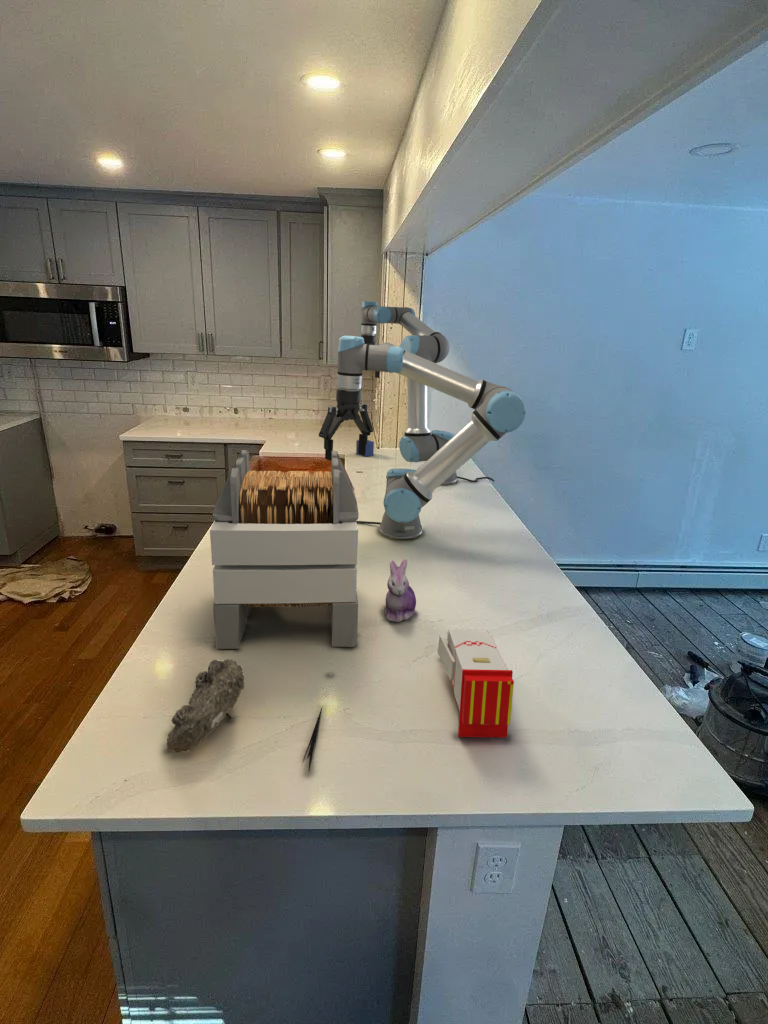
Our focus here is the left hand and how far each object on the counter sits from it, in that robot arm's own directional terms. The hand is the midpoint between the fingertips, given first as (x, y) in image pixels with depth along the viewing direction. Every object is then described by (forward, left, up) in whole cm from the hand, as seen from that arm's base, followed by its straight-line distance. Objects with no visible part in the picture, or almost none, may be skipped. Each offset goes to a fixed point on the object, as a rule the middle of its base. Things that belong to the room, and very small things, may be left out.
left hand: (345, 457), depth 179 cm
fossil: (+53, -71, -30) cm, 93 cm away
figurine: (+45, -16, -30) cm, 57 cm away
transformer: (+28, -38, -30) cm, 56 cm away
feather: (+66, -55, -30) cm, 91 cm away
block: (-91, +82, -30) cm, 126 cm away
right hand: (-88, +80, +11) cm, 119 cm away
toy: (+78, -25, -30) cm, 87 cm away
